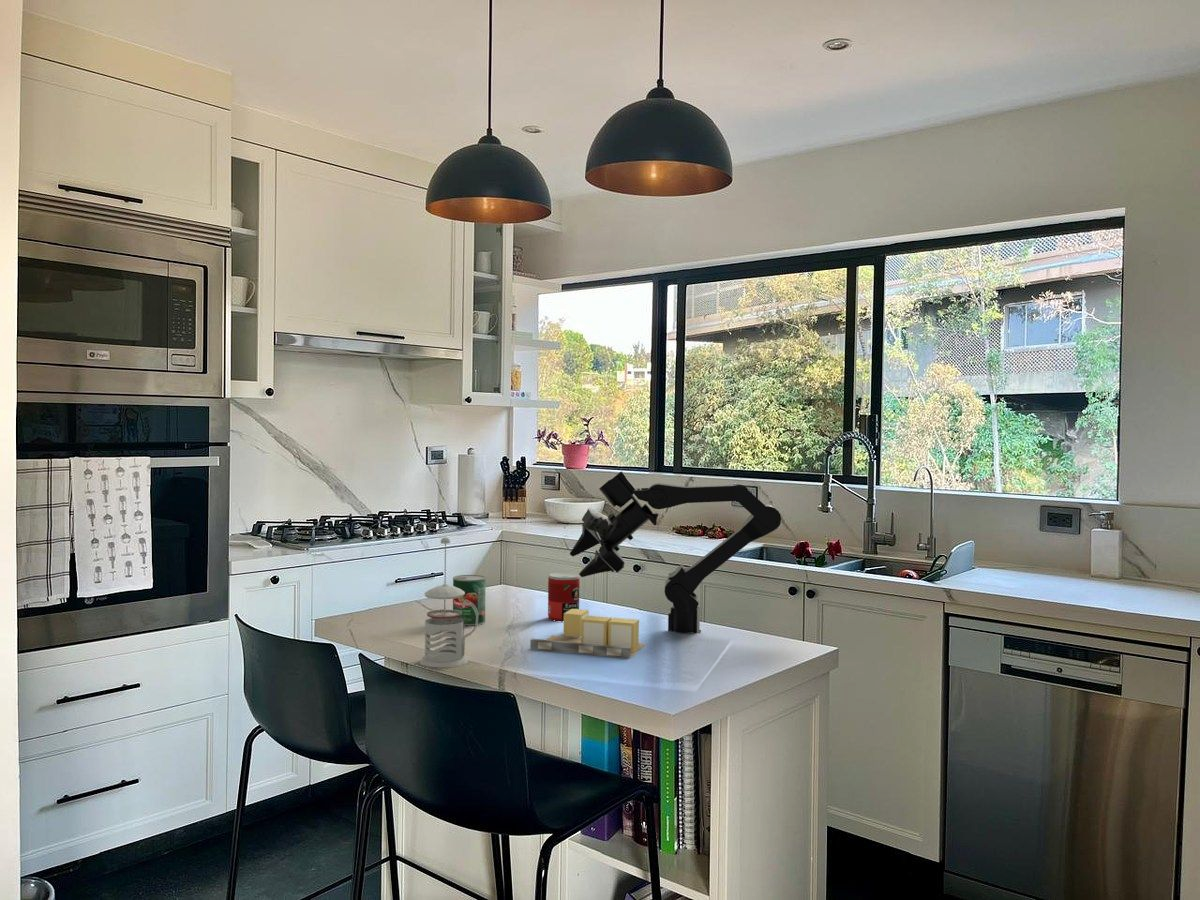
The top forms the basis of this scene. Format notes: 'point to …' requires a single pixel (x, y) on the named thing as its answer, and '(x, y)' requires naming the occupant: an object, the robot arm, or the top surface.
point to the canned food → (562, 594)
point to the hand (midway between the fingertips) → (575, 565)
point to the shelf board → (581, 647)
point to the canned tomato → (470, 598)
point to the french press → (446, 628)
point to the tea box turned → (574, 622)
